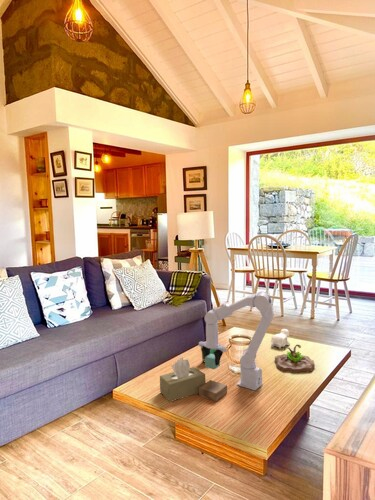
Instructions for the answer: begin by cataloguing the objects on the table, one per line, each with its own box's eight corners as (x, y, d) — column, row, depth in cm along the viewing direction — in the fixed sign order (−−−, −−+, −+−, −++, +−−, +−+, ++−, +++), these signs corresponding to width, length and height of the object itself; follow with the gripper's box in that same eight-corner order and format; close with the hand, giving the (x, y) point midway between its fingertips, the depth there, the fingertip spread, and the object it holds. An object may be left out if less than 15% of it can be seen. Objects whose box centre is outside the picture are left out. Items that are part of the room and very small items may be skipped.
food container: (210, 365, 190) (210, 346, 189) (201, 362, 194) (200, 344, 193) (222, 357, 200) (222, 340, 199) (213, 355, 204) (213, 338, 203)
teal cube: (219, 365, 173) (219, 355, 172) (214, 369, 169) (213, 359, 168) (211, 363, 176) (211, 353, 175) (205, 366, 172) (205, 356, 171)
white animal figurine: (283, 354, 211) (294, 338, 220) (281, 342, 208) (292, 327, 217) (270, 350, 216) (281, 335, 226) (268, 339, 213) (279, 324, 223)
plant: (318, 374, 177) (318, 352, 176) (278, 373, 180) (278, 351, 179) (310, 358, 197) (310, 338, 196) (273, 357, 199) (273, 337, 198)
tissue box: (195, 382, 171) (194, 350, 169) (206, 391, 162) (205, 357, 161) (159, 393, 162) (158, 359, 160) (169, 402, 153) (168, 366, 152)
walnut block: (227, 393, 160) (227, 385, 160) (216, 402, 153) (216, 393, 152) (210, 388, 165) (210, 380, 165) (198, 396, 158) (198, 387, 158)
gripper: (229, 336, 169) (229, 364, 171) (204, 330, 178) (205, 357, 180) (221, 340, 164) (221, 369, 165) (196, 334, 173) (196, 361, 174)
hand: (212, 363), depth 172 cm, fingers closed on teal cube, 5 cm apart
